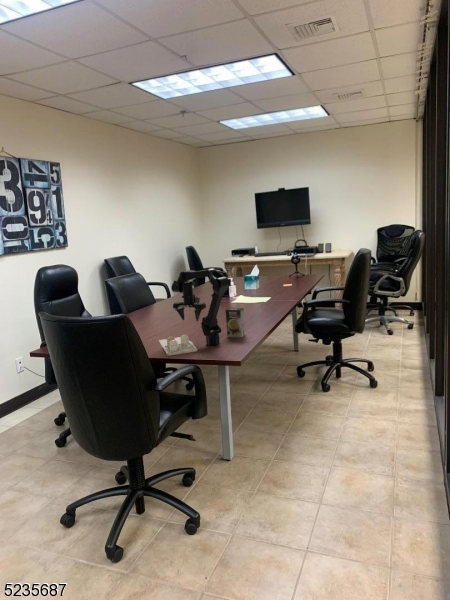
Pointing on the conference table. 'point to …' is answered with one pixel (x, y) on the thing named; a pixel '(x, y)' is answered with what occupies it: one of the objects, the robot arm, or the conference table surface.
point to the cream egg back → (184, 340)
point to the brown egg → (169, 340)
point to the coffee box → (235, 322)
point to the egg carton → (180, 349)
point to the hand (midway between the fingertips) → (190, 320)
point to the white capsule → (173, 346)
